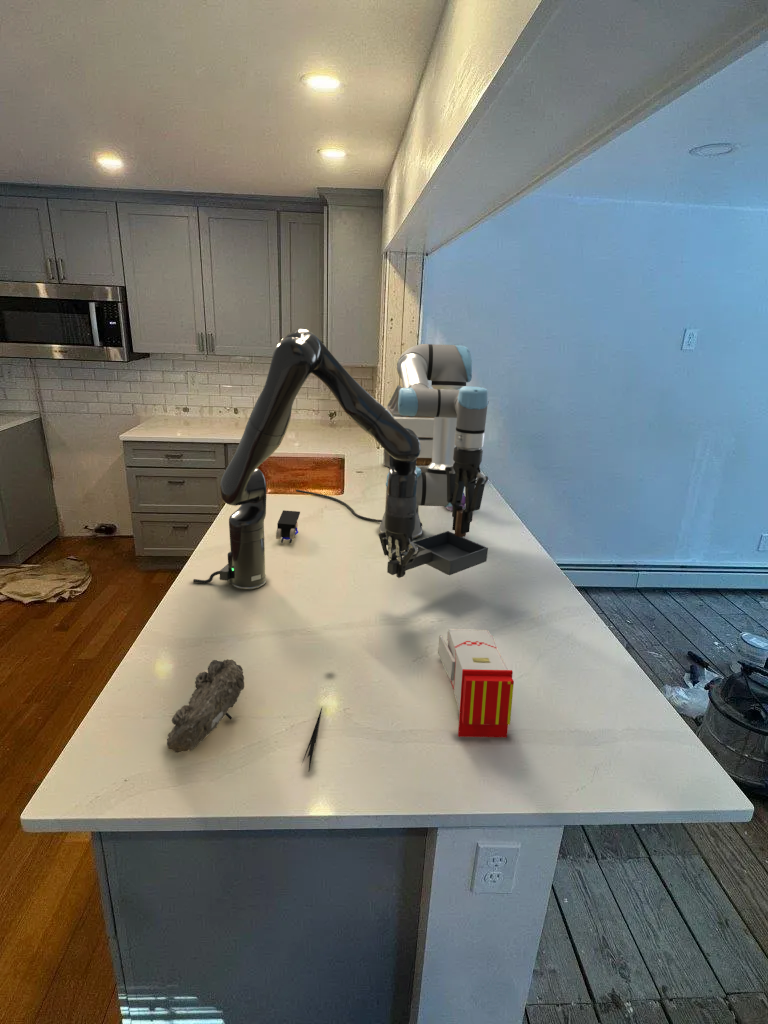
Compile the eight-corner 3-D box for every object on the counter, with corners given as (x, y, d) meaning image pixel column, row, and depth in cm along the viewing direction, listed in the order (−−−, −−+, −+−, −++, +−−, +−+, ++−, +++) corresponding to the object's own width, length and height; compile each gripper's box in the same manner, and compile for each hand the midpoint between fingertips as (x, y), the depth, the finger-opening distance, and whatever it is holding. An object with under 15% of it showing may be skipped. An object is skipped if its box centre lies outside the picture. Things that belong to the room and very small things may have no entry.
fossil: (192, 660, 117) (244, 628, 112) (224, 691, 120) (276, 661, 115) (142, 746, 98) (202, 712, 93) (182, 779, 101) (242, 748, 96)
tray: (409, 590, 138) (410, 574, 136) (370, 568, 148) (371, 553, 147) (486, 561, 156) (488, 546, 154) (446, 543, 166) (448, 529, 165)
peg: (451, 534, 157) (454, 510, 154) (459, 531, 159) (461, 508, 156) (460, 537, 155) (463, 513, 152) (468, 535, 157) (470, 511, 154)
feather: (331, 679, 122) (336, 673, 122) (307, 777, 96) (313, 769, 95) (324, 675, 122) (329, 669, 121) (298, 772, 95) (304, 764, 95)
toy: (488, 613, 130) (523, 677, 101) (484, 667, 133) (517, 744, 104) (435, 612, 130) (455, 676, 101) (432, 666, 133) (451, 743, 103)
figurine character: (295, 549, 186) (301, 528, 200) (295, 529, 183) (300, 509, 196) (275, 549, 186) (282, 527, 199) (274, 528, 183) (281, 508, 196)
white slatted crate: (382, 463, 289) (386, 382, 275) (445, 464, 293) (451, 384, 279) (390, 482, 257) (394, 392, 243) (460, 483, 261) (468, 394, 247)
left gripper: (371, 506, 141) (368, 569, 147) (408, 522, 131) (404, 589, 137) (393, 500, 146) (390, 562, 152) (431, 516, 136) (426, 581, 142)
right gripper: (437, 443, 152) (431, 525, 159) (482, 455, 141) (473, 542, 149) (456, 440, 156) (449, 520, 164) (501, 451, 145) (491, 536, 153)
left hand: (397, 574), depth 144 cm, fingers closed on tray, 2 cm apart
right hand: (460, 530), depth 156 cm, fingers closed on peg, 2 cm apart
